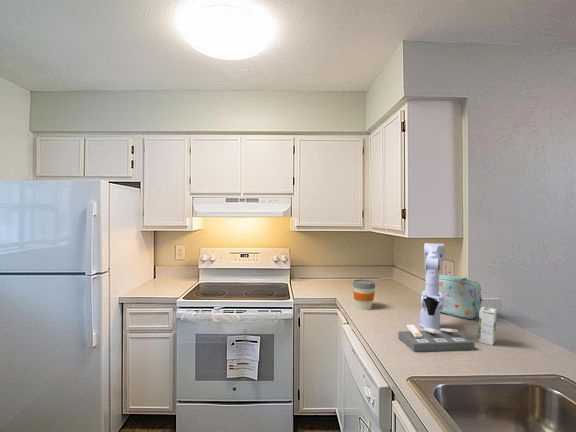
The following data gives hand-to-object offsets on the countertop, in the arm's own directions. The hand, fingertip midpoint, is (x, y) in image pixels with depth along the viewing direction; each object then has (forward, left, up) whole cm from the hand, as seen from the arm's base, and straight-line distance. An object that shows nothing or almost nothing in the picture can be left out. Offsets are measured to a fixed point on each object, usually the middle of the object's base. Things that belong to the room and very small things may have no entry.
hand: (431, 315), depth 151 cm
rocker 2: (+6, +5, -5) cm, 9 cm away
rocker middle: (+6, -3, -5) cm, 8 cm away
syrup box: (+8, +21, -10) cm, 25 cm away
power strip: (+8, -3, -10) cm, 13 cm away
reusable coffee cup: (-45, -15, -10) cm, 49 cm away
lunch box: (-30, +31, -10) cm, 44 cm away
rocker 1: (+6, -11, -5) cm, 13 cm away
